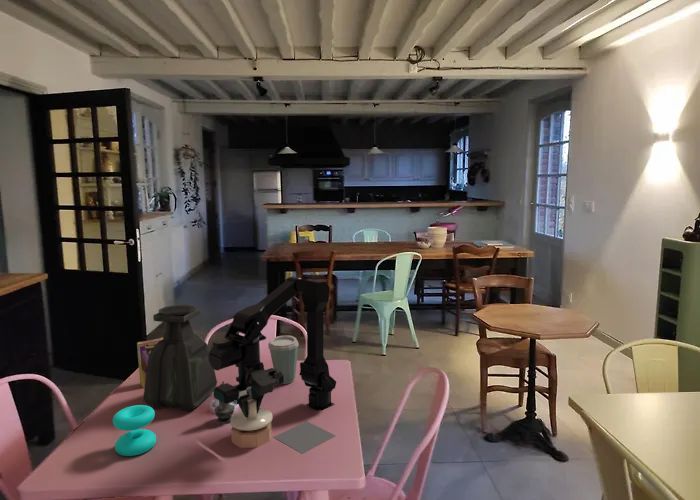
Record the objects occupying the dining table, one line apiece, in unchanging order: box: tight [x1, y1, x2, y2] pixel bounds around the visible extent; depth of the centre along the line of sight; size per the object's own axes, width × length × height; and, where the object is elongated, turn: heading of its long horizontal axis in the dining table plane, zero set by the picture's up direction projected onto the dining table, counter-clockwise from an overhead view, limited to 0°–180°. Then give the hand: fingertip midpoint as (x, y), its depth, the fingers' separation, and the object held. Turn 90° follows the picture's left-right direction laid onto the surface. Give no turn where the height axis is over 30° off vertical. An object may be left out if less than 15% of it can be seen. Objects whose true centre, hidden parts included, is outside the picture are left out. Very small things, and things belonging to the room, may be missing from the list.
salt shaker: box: [213, 380, 236, 426], centre depth 139 cm, size 6×6×12 cm
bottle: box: [142, 304, 218, 411], centre depth 151 cm, size 18×16×30 cm
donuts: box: [112, 404, 157, 457], centre depth 125 cm, size 10×10×10 cm
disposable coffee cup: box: [268, 335, 300, 385], centre depth 167 cm, size 11×11×15 cm
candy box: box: [136, 337, 163, 389], centre depth 166 cm, size 9×4×15 cm, turn 127°
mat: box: [273, 421, 337, 454], centre depth 129 cm, size 12×12×1 cm
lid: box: [230, 398, 273, 431], centre depth 128 cm, size 11×11×5 cm
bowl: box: [230, 422, 273, 449], centre depth 128 cm, size 10×10×4 cm
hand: (251, 415), depth 128 cm, fingers closed on lid, 3 cm apart
